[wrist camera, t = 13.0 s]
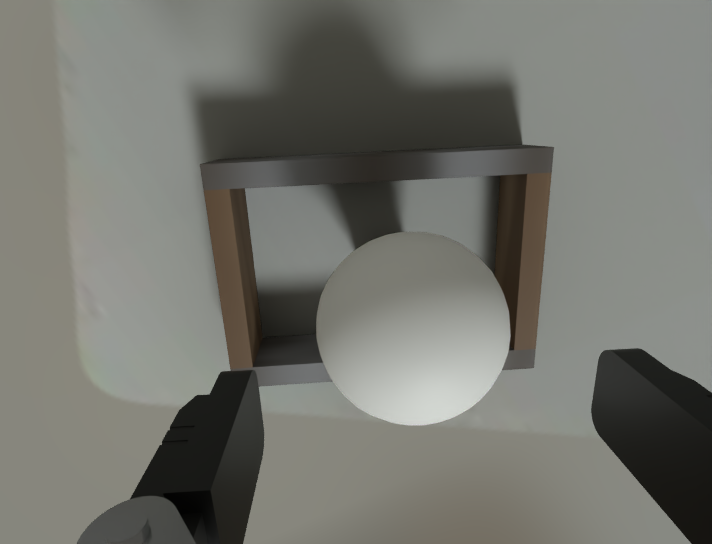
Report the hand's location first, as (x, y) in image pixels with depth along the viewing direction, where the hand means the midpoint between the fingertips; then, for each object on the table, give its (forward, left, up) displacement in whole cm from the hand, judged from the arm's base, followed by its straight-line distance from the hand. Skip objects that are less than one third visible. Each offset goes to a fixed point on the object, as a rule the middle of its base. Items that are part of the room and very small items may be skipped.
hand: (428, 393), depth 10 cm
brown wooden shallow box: (0, 0, -12) cm, 12 cm away
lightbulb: (0, 0, -12) cm, 12 cm away
